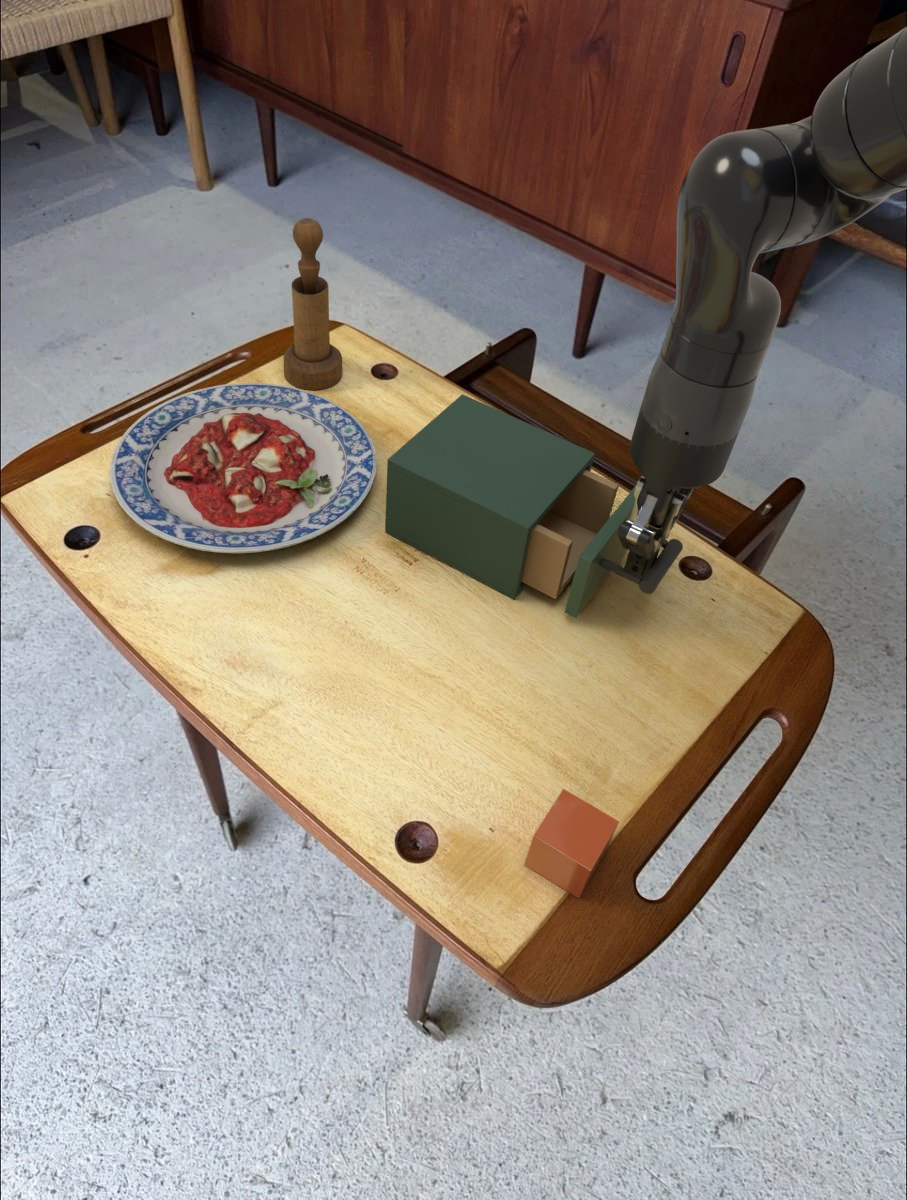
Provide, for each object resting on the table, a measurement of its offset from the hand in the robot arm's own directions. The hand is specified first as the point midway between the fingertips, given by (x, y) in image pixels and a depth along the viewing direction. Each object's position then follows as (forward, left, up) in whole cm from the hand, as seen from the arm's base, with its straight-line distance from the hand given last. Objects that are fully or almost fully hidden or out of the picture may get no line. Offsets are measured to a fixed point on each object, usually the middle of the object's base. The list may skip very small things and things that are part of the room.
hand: (637, 570), depth 80 cm
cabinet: (+16, 0, -4) cm, 16 cm away
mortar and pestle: (+45, -10, -4) cm, 46 cm away
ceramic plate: (+39, +8, -4) cm, 40 cm away
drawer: (+7, 0, -3) cm, 8 cm away
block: (-7, +26, -4) cm, 27 cm away
